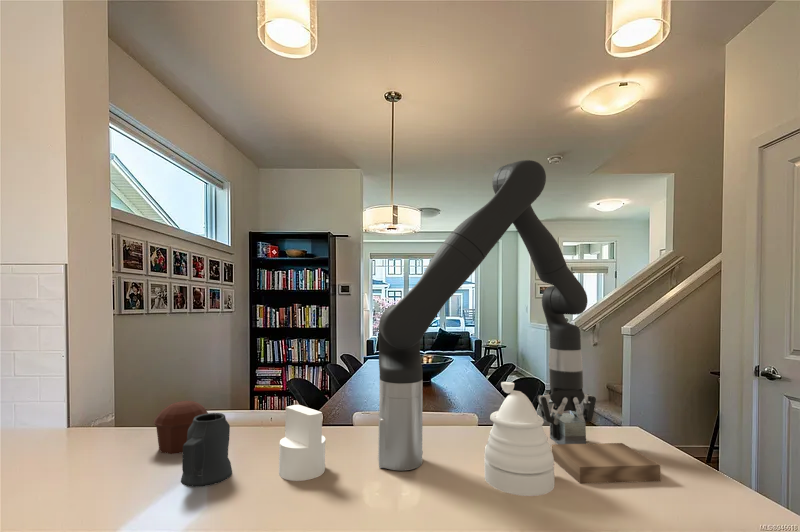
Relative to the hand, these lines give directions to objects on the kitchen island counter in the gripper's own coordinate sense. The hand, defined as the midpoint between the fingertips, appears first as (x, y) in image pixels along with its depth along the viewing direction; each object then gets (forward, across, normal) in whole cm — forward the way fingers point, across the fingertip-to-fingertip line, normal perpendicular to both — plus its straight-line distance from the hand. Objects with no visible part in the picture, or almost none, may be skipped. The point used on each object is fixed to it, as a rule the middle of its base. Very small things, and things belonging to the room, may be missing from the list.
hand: (567, 438), depth 99 cm
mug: (+1, -79, -15) cm, 80 cm away
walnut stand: (+1, 0, -15) cm, 15 cm away
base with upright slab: (+1, -61, -12) cm, 62 cm away
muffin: (+1, -91, +3) cm, 91 cm away
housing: (+1, 0, 0) cm, 1 cm away
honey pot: (+1, -19, -19) cm, 27 cm away
